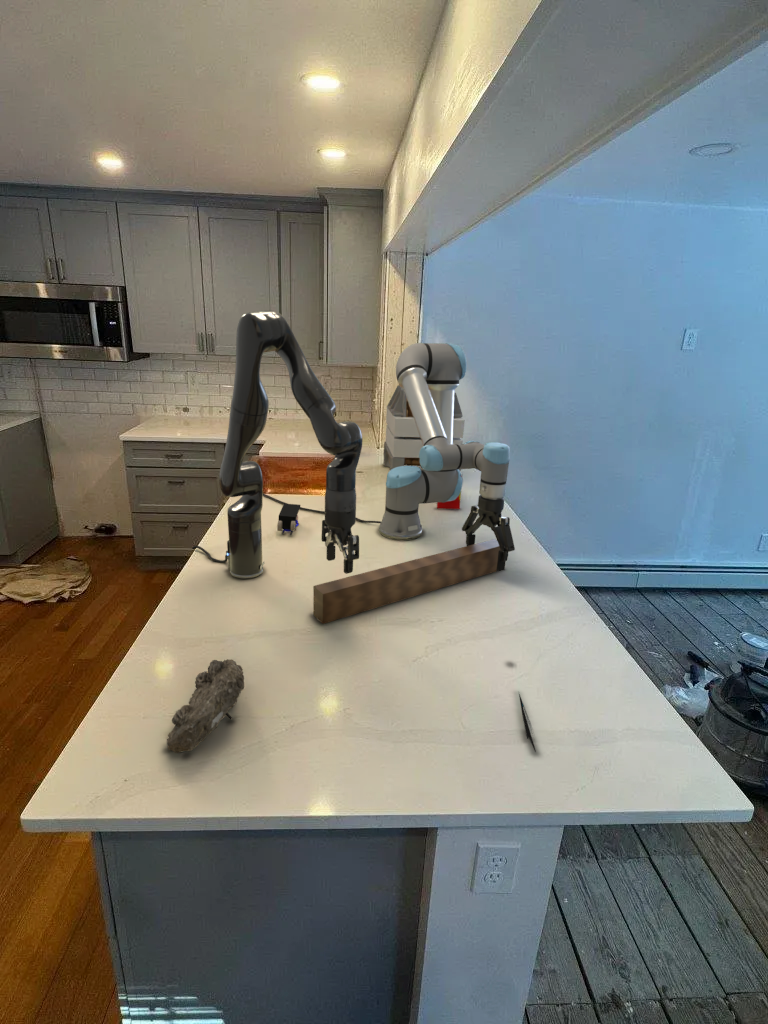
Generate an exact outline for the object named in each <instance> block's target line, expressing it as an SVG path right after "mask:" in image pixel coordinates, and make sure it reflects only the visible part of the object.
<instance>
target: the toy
mask: <svg viewBox="0 0 768 1024" xmlns="http://www.w3.org/2000/svg"><path fill="white" fill-rule="evenodd" d="M461 477H462V478H463V476H462V475H461ZM461 499H462V491H461V492H460V494H459V496H458V497H457V498H456V499H455V500H453V501H447V502H444V503H442V502H436V509H443V510H460V509H461V501H462V500H461Z"/></svg>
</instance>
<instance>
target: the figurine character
mask: <svg viewBox="0 0 768 1024" xmlns="http://www.w3.org/2000/svg"><path fill="white" fill-rule="evenodd" d="M300 507H301V504H295V503H288V504H282V507H281V509H280V512H279V514H278V521H277V526H276V529H277V531H278V532H281V535H283V536H284V535H285V532H287V533H289V532H290V533H289V535H290V536H293V533H294V532H295V531H297V527H299V526H300V523H299V514H298V513H299V512H300V510H301V509H300Z"/></svg>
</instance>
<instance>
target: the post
mask: <svg viewBox="0 0 768 1024" xmlns="http://www.w3.org/2000/svg"><path fill="white" fill-rule="evenodd" d="M504 547H505V546H504ZM499 550H501V549H500V546H499V544H498V541H497V539H496V538H494V539H493V538H492V539H489V540H485V541H481V542H477V543H475V544H473V545H469V546H467V545H465V546H462V547H458V548H454V549H451V550H447V551H443V552H438V553H434V554H431V555H427V556H422V557H420V558H414V559H412V560H408V561H404V562H400V563H396V564H393V565H389V566H385V567H381V568H377V569H373V570H370V571H366V572H362V573H358V574H354V575H349V576H347V577H342V578H339V579H334V580H331V581H328V582H327V581H326V582H323V583H319V584H316V585H313V591H312V592H313V593H312V594H313V599H312V600H313V612H312V613H313V617H315V618H316V619H317V621H319V622H320V623H321V624H322V625H324V624H327V623H331V622H334V621H338V620H340V619H344V618H347V617H351V616H354V615H357V614H360V613H364V612H367V611H371V610H373V609H376V608H381V607H383V606H387V605H390V604H393V603H396V602H400V601H403V600H406V599H409V598H413V597H416V596H419V595H423V594H426V593H429V592H432V591H433V592H434V591H436V590H439V589H440V590H441V589H443V588H446V587H449V586H452V585H456V584H459V583H462V582H463V583H464V582H465V581H470V580H473V579H476V578H480V577H482V576H485V575H489V574H492V573H495V572H497V571H496V570H497V562H498V553H499Z"/></svg>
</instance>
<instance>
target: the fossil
mask: <svg viewBox="0 0 768 1024" xmlns="http://www.w3.org/2000/svg"><path fill="white" fill-rule="evenodd" d="M243 670H244V669H243V667H242V665H240V664H237V662H236V661H235V660H234V659H232V658H231V659H227V658H226V659H224V660H223V661H222V660H217V659H212V660H211V661H210V663H209V665H208V666H207V671H201V672H199V673H198V674H197V675H196V676H195V680H194V684H195V685H194V687H195V689H194V690H193V693H192V694H191V697H190V698H189V700H188V704H184V705H182V706H181V707H180V709H177V710H176V711H175V713H174V715H173V716H172V718H171V723H172V724H173V727H172V730H171V731H170V732H168V734H167V738H166V741H167V742H166V745H167V749H168V750H169V751H173V752H174V753H176V754H178V753H182V752H188V751H189V752H192V751H193V750H195V748H196V747H197V746H199V744H200V743H201V742H203V741H204V740H205V739H206V738H207V737H208V736H209V735H210V734H211V733H212V732H214V730H215V729H217V727H218V726H219V724H220V722H221V721H222V720H223V719H224V718H225V716H226V717H227V719H229V720H233V717H232V715H230V714H229V710H230V709H231V708H234V706H235V704H236V703H237V702H238V699H239V697H240V695H241V693H242V691H243V690H245V689H244V688H245V675H244V671H243Z"/></svg>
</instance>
